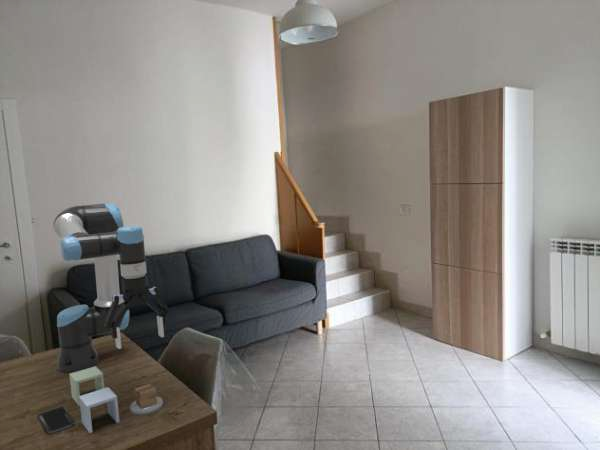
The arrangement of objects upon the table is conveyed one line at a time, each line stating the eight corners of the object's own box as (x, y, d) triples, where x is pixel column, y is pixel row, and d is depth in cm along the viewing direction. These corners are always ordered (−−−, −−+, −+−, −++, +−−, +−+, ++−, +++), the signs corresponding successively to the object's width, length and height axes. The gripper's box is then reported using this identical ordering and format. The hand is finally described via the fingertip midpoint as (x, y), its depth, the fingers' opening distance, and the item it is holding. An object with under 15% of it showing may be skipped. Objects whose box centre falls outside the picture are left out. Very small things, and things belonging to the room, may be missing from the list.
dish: (126, 406, 150) (125, 403, 150) (155, 396, 156) (155, 393, 156) (137, 418, 142) (136, 414, 142) (168, 406, 148) (167, 403, 148)
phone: (46, 433, 135) (37, 414, 147) (47, 436, 135) (37, 417, 147) (76, 423, 140) (64, 405, 152) (76, 426, 140) (64, 408, 152)
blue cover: (81, 422, 142) (78, 396, 141) (110, 412, 147) (108, 387, 146) (89, 433, 135) (86, 406, 134) (119, 422, 141) (116, 396, 140)
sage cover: (71, 397, 159) (69, 373, 158) (98, 388, 165) (95, 366, 164) (78, 405, 153) (75, 381, 152) (105, 396, 158) (102, 373, 157)
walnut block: (136, 403, 149) (134, 388, 149) (151, 398, 152) (149, 383, 152) (141, 409, 145) (140, 393, 145) (157, 403, 148) (155, 388, 148)
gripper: (95, 285, 134) (103, 356, 136) (177, 270, 149) (182, 334, 152) (88, 281, 140) (95, 349, 142) (167, 267, 155) (172, 329, 157)
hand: (140, 341), depth 147 cm, fingers open, 13 cm apart
